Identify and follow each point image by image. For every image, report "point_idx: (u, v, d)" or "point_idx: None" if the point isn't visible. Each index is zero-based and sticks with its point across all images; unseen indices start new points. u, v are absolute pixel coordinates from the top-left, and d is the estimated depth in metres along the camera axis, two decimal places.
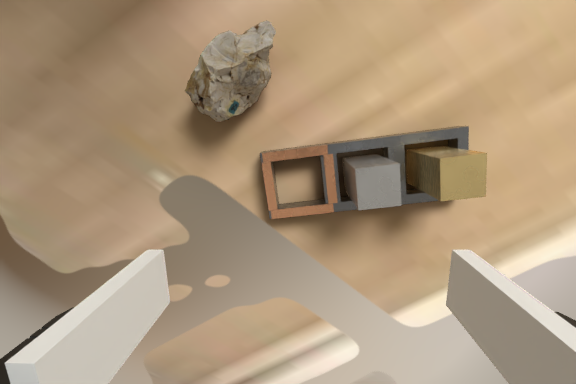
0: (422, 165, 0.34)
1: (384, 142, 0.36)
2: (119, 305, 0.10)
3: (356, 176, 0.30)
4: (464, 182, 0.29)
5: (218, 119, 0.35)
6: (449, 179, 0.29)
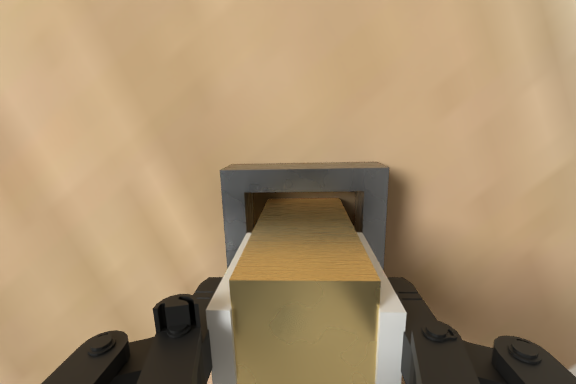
0: None
1: None
2: None
3: None
4: (321, 343, 0.09)
5: None
6: (304, 380, 0.09)
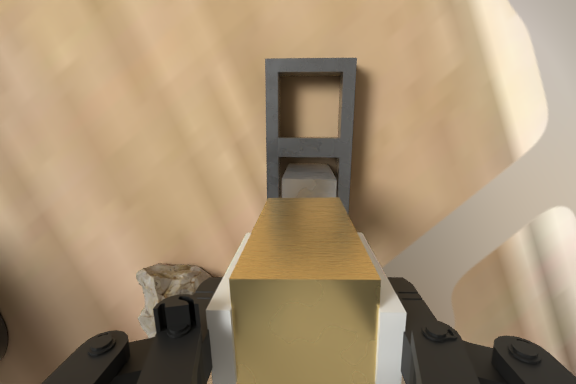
0: None
1: (272, 160, 0.31)
2: None
3: None
4: (321, 341, 0.09)
5: None
6: (305, 378, 0.09)
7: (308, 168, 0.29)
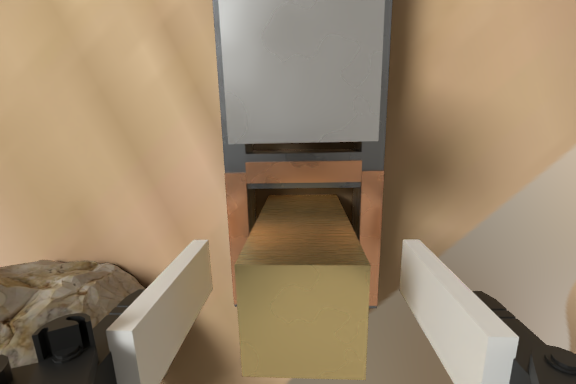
0: None
1: None
2: (181, 287, 0.11)
3: (255, 140, 0.09)
4: (317, 322, 0.10)
5: None
6: (303, 356, 0.10)
7: None
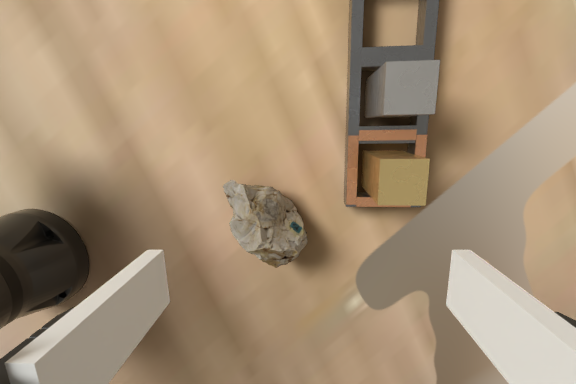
0: None
1: (355, 70, 0.32)
2: (119, 305, 0.10)
3: (392, 113, 0.26)
4: (408, 181, 0.27)
5: (305, 242, 0.36)
6: (402, 195, 0.28)
7: None
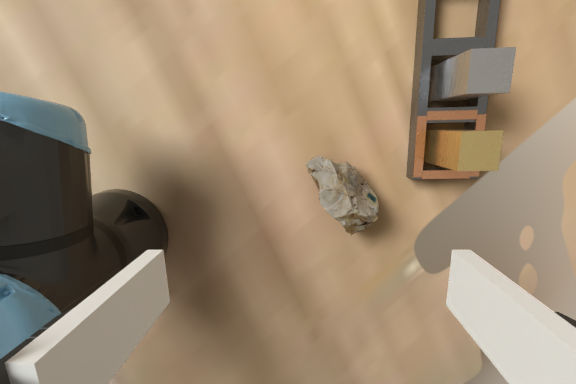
0: None
1: (426, 59, 0.37)
2: (119, 306, 0.10)
3: (474, 92, 0.31)
4: (485, 150, 0.32)
5: (377, 211, 0.41)
6: (478, 162, 0.33)
7: None
